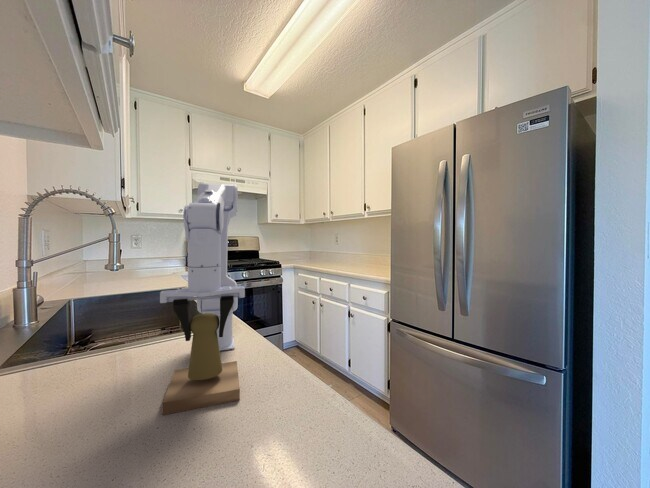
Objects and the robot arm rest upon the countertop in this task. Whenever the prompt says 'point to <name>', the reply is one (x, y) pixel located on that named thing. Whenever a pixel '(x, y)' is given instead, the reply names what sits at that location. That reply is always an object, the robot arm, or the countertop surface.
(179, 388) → the walnut base
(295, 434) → the countertop surface
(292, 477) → the countertop surface
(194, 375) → the olive tapered knobbed peg
